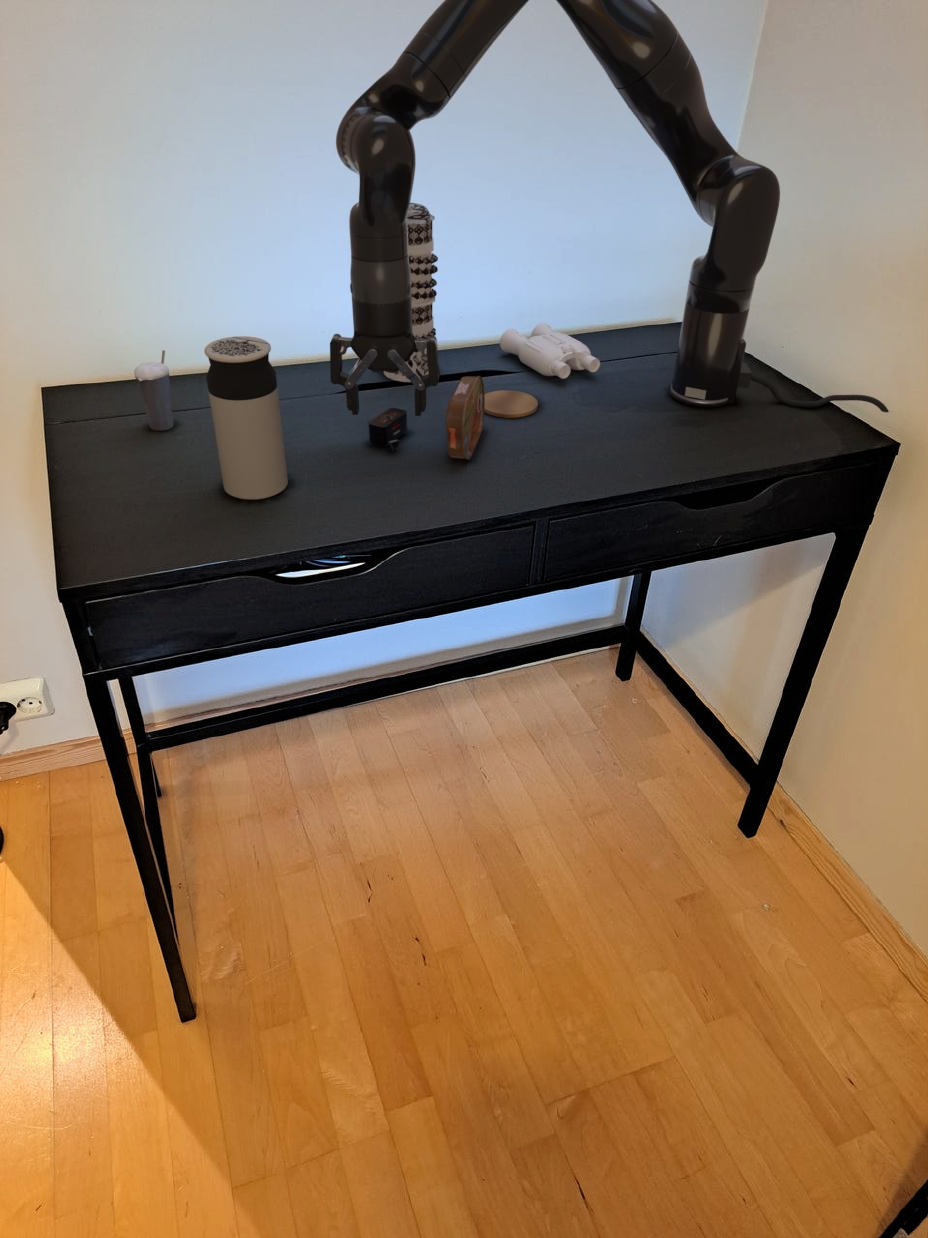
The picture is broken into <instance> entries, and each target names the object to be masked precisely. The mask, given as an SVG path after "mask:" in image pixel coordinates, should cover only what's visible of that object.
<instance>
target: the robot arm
mask: <svg viewBox="0 0 928 1238" xmlns="http://www.w3.org/2000/svg"><path fill="white" fill-rule="evenodd" d="M529 1H530V0H443V2H442V3H440V5H439V6H438V7H437V8H436V9H435V10H434V11H433V12H432V13H431V15H430V16H429V17H428V18H427V19H426V20H425V22H424V23H423V24H422V25H421V27H420V29H419V30H418V31H417V33H416V34H415V35H414V36H413V37H412V39H411V40H410V42H409V43H408V44H407V46H406V47H405V49H403V51H402V53H401V54H400V56H399V57H398V59H397V60H395V61H396V62H395V63H394V64H393V65H392V67H391V68H389V70H388V71H386V72H385V73H384V74H383V75H382V76H381V77H379V78H378V79H377V80H376V81H375V82H374V83H373V84H372V85H370V86H369V87H368V88H367V89H366V90H365V91H363V93H362V94H361V95H360V96H359V97H358V98H357V99H356V100H355V101H354V102H353V103H352V104H351V106H350V107H349V108H348V109H347V110H346V112H345V114H344V115H343V117H342V119H341V121H340V122H339V125H338V128H337V130H336V136H335V148H336V153H337V155H338V158H339V160H340V161H341V163H342V164H343V165H344V166H345V167H346V168H347V169H348V170H350V171H351V172H353V173H354V174H356V175H358V176H359V190H358V202H356V203H354V204H353V205H352V206H351V208H350V211H349V217H348V228H349V230H348V231H349V243H350V272H349V273H350V275H349V276H350V284H349V291H350V293H351V294H350V295H351V308H352V323H353V336H352V337H346V336H342V335H341V334H340V333H335V334H333V335H332V337H331V339H330V342H329V367H330V370H329V371H330V383H331V384H333V385H340V386H343V387H344V389H345V397H346V398H345V399H346V408H347V410H348V411H351V415H352V416H358V415H359V413H360V396H359V395H360V394H359V383H358V381H359V380H360V379H361V378H362V376H363V375H364V374H365V373H366V371H367V370H369V371H372V373H374V374H375V373H376V374H378V373H384V371H385V372H389V373H396V371H399V370H400V371H401V372H402V373H403V374H404V376H405V377H406V378H407V379H409V380H410V381H411V382H410V383H411V384H412V385H413V386H414V416H415V417H421V415H422V413H425V411H426V409H427V408H426V407H427V389H428V388H430V387H436V386H438V385H439V381H440V363H439V350H438V349H439V348H438V339H437V337H436V335H435V336H433V335H431V336H429V337H428V339H415V337H414V335H413V331H412V295H411V270H410V264H409V256H408V226H407V215H408V210H409V206H410V203H411V201H412V194H413V189H414V184H415V183H414V181H415V176H416V174H415V173H416V166H417V165H416V163H417V162H416V160H417V157H416V147H415V143H414V138H413V136H412V135H413V134H412V133H411V130H412V129H413V128H414V127H415V126H416V125H417V124H418V123H420V122H421V121H423V120H429V119H433V118H434V117H436V116H438V115H439V114H440V113H441V112H442V111H443V110H444V109H445V108H446V106H447V105H448V104H449V102H450V101H451V100H452V99H453V97H454V96H455V94H457V92H458V91H459V89H460V88H461V86H462V85H463V84H464V82H465V81H466V80H467V79H468V77H469V76H470V74H471V73H472V72H473V70H474V69H475V68H476V67H477V65H478V64H479V63H480V61H481V60H482V58H483V57H484V56H485V54H486V53H487V52H488V51H489V49H490V48H491V47H492V46H493V44H494V43H495V42H496V41H497V40H498V38H499V37H500V35H501V34H502V33H503V32H504V30H505V29H506V28H507V27H508V26H509V24H510V23H511V22H512V21H513V20H514V18H515V17H516V16H517V15H518V14H519V13H520V11H521V10H522V9H523V8H524V7H525V6H526V5H527V3H528V2H529ZM555 1H556V3H557V4H558V5H559V6H560V7H561V9H562V10H563V11H564V13H565V14H566V16H567V17H568V18H569V20H570V22H571V23H572V25H573V26H574V27H575V29H576V30H577V32H578V34H579V35H580V37H581V38H582V41H584V43H585V44H586V46H587V48H588V50H589V51H590V52H591V53H592V55H593V56H594V58H595V59H596V61H597V62H598V64H599V65H600V66H601V68H602V69H603V71H604V73H605V74H606V76H607V78H608V80H609V81H610V83H611V85H612V86H613V87H614V88H615V90H616V92H617V93H618V94H619V96H620V97H621V99H622V100H623V102H624V104H625V105H626V106H627V108H628V109H629V111H630V112H631V113H632V114H633V116H634V117H635V118H636V120H637V121H638V122H639V124H640V125H641V126H642V128H643V129H644V130H645V132H646V134H648V136H649V137H650V139H651V140H652V141H653V143H654V144H656V146H657V147H658V148H659V150H660V151H662V153H663V155H665V157H666V158H667V160H668V161H669V163H670V165H671V166H672V168H673V170H674V171H675V174H676V175H677V177H678V179H679V181H680V183H681V185H682V188H683V189H684V191H685V193H686V196H687V198H688V199H689V201H690V203H691V205H692V207H693V209H694V210H695V212H696V214H697V215H698V217H699V218H700V219H701V220H702V221H703V222H704V223H705V224H707V225H708V226H710V227H711V228H712V230H711V234H710V238H709V239H710V240H709V243H708V247H707V251H706V253H705V254H703V255H700V256H697V257H696V258H695V259H694V260H693V261H692V263H691V266H690V272H689V278H688V284H687V289H686V290H687V291H686V297H685V303H684V309H683V315H682V322H681V327H680V333H679V339H678V346H677V350H676V351H677V352H676V355H675V356H676V357H675V364H674V370H673V375H672V380H671V384H670V388H669V389H670V390H669V394H670V396H671V397H672V398H673V399H674V400H676V401H678V402H680V403H682V404H685V405H687V406H693V407H700V408H716V407H722V406H725V405H734V404H735V401H736V400H735V399H736V395H737V390H738V388H739V389H741V388H742V389H749V387H750V384H751V381H752V382H755V383H757V384H759V385H762V386H763V387H765V388H767V389H768V390H769V391H770V393H771V394H772V395H773V397H774V398H775V399H776V400H777V401H778V402H780V403H782V404H785V405H787V406H792V407H799V408H817V407H820V406H823V405H825V404H828V403H830V402H834V401H835V402H836V401H837V402H839V401H840V402H843V401H847V402H848V401H856V402H857V401H859V402H866V403H869V404H872V405H874V406H876V407H877V408H878V409H879V410H880V411H881V412H882V413H889V412H890V410H889V409H888V407H887V406H886V405H885V404H884V403H883V402H882V401H880V400H879V399H877V398H875V397H873V396H869V395H865V394H832V395H827V396H825V397H823V398H821V399H818V400H795V399H790V398H788V397H785V396H783V395H782V394H780V392H779V390H778V388H777V387H776V386H775V385H774V384H773V383H772V382H771V381H769V380H767V379H765V378H763V377H761V376H758V375H755V374H754V373H753V372H752V370H751V369H750V367H749V365H748V363H747V362H744V358H745V357H744V356H745V352H746V348H747V342H746V340H745V339H744V336H745V331H746V326H747V324H748V323H747V322H748V317H749V313H750V307H751V304H752V298H753V294H754V289H755V283H756V279H757V276H758V274H759V273H760V271H761V270H762V268H763V266H764V265H765V262H766V259H767V256H768V253H769V248H770V244H771V241H772V237H773V233H774V229H775V225H776V222H777V218H778V213H779V209H780V202H781V186H780V181H779V179H778V176H777V175H776V173H775V172H774V171H773V170H772V169H771V168H769V167H767V166H766V165H763V164H761V163H758V162H755V161H753V160H751V159H748V158H745V157H744V156H741V155H740V154H739V152H737V151H736V150H735V149H734V147H733V146H732V145H731V144H730V143H729V141H728V140H727V139H726V137H725V136H724V135H723V133H722V132H721V130H720V129H719V127H718V126H717V124H716V123H715V121H714V119H713V117H712V114H711V113H710V110H709V106H708V101H707V97H706V93H705V92H706V91H705V87H704V84H703V78H702V75H701V72H700V69H699V66H698V64H697V62H696V60H695V57H694V56H693V53H692V52H691V50H690V49H689V47H688V45H687V44H686V42H685V40H684V38H683V37H682V36H681V34H680V32H679V31H678V29H677V27H676V25H675V24H674V23H673V22H672V20H671V19H670V17H669V16H668V15H667V14H666V12H664V11H663V9H662V8H660V7H659V5H658V4H656V3H655V2H654V1H653V0H555ZM349 348H351V350H352V351H353V352H354V354H355V355H356V356H357V358H358V359H357V361H356V363H355V364H354V365H353V367H352V368H351V370H350V371H349V372H347V373H346V372H344V371H343V356H344V355H346V354H347V351H348V349H349ZM415 349H419V350H420V351H421V353H422V355H423V356H425V357H427V360H428V372H429V374H427V375H423V374H422V372H421V371H420V370H419V369H418V367H417V365H416V363H415V362H414V360H413V359H412V358H411V355H412V354H413V353H414V351H415Z"/></svg>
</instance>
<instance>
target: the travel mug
mask: <svg viewBox="0 0 928 1238" xmlns="http://www.w3.org/2000/svg"><path fill="white" fill-rule="evenodd" d="M203 350H204V351H203V352H204V355H205V356H206V357H207V358H208V361H209V368H208V371H207V374H206V377H205V378H206V384H207V385H206V386H207V390H208V397H209V403H210V409H211V416H212V422H213V429H214V435H215V440H216V447H217V448H216V449H217V453H218V459H219V465H220V472H221V478H222V485H223V490H224V491H225V493H226V494H228V495H229V496H232V497H234V498H237V499H241V500H262V499H263V500H264V499H267V498H270V497H273V496H275V495H277V494H279V493H281V492H282V491H284V490H285V489H286V488H287V487H288V482H289V478H288V471H287V462H286V452H285V451H286V450H285V443H284V442H285V441H284V433H283V426H282V417H281V416H282V415H281V409H280V408H281V407H280V399H279V398H280V397H279V390H278V380H277V372H276V370H275V368H274V367H273V365H272V364H271V362H270V361H269V359H270V353H271V351H272V346H271V344H270V343H269V341H267V340H265V339H262V338H260V337H255V336H246V335H245V336H244V335H239V336H228V337H222V338H219V339H216V340H213V341H211V342H209V343H208V344H207V345H206V346H205V347H204V349H203Z"/></svg>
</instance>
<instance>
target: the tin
mask: <svg viewBox="0 0 928 1238" xmlns="http://www.w3.org/2000/svg"><path fill="white" fill-rule="evenodd" d="M484 394H485V385H484V380H483V377H482V376H481V375H477V376H468V375H467V376H462V377H461V378H460V379H459V380H458V383H457V384H456V386H455V388H454V390H453V392H452V395H450V396H451V397H450V398H449V400H448V403H447V407H446V412H445V413H446V414H445V431H446V441H447V442H446V444H447V447H446V451H447V455H448V456H449V458H451V459H462V460H467V461H469V460H471V458H472V456H473V454H474V452H475V450H476V447H477V444H478V442H479V441H480V437H481V434H482V432H483V427H484V421H485V412H484V408H485V406H484V405H485V396H484Z"/></svg>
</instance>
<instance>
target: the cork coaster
mask: <svg viewBox="0 0 928 1238" xmlns="http://www.w3.org/2000/svg"><path fill="white" fill-rule="evenodd" d="M484 396H485V405H484V406H485V408H484V414H488V415H491V416H494V417H499V418H508V419H510V418H512V419H513V418H523V417H527V416H530V415H532V414H534V413H535V412H536V411H537V410H538V408H539V401H538V399H537V398H536V397H535V396H533V395H531V394H529V393H526V392H524V391H519V390H513V389H512V390H509V389H501V390H494V391H488V392H487V393H484Z"/></svg>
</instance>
